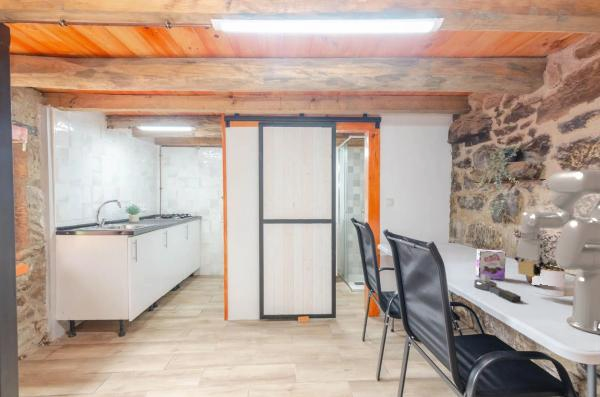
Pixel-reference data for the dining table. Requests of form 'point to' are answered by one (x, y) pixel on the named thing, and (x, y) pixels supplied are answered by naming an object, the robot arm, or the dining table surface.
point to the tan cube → (527, 268)
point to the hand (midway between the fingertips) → (529, 272)
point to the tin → (529, 279)
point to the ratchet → (495, 288)
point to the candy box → (491, 263)
